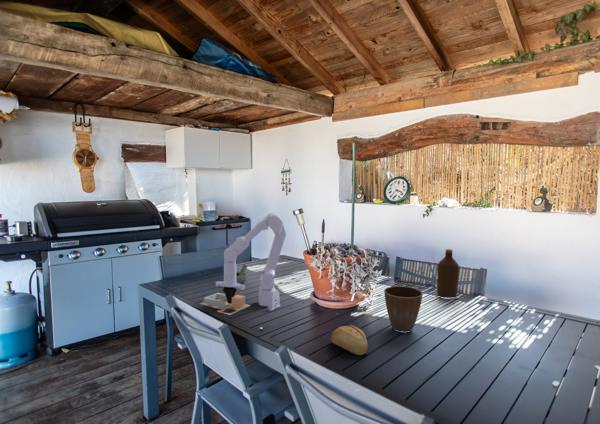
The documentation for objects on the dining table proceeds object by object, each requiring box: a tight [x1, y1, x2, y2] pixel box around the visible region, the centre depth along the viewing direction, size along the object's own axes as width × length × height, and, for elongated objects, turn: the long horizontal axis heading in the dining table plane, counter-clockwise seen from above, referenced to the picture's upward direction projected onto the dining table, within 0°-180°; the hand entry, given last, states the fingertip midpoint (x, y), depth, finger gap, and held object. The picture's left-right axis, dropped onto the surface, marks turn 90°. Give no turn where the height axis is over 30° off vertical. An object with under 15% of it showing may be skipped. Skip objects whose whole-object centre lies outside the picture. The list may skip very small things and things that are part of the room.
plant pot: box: [383, 285, 424, 332], centre depth 150 cm, size 15×15×16 cm
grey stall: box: [203, 292, 227, 308], centre depth 176 cm, size 13×10×2 cm
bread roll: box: [330, 324, 369, 356], centre depth 134 cm, size 10×15×8 cm, turn 46°
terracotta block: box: [232, 294, 246, 309], centre depth 171 cm, size 4×4×4 cm
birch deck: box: [199, 299, 252, 316], centre depth 173 cm, size 22×14×2 cm
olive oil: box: [436, 248, 460, 298], centre depth 193 cm, size 11×11×25 cm
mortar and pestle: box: [236, 263, 249, 285], centre depth 207 cm, size 11×9×12 cm
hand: (230, 302), depth 173 cm, fingers closed
